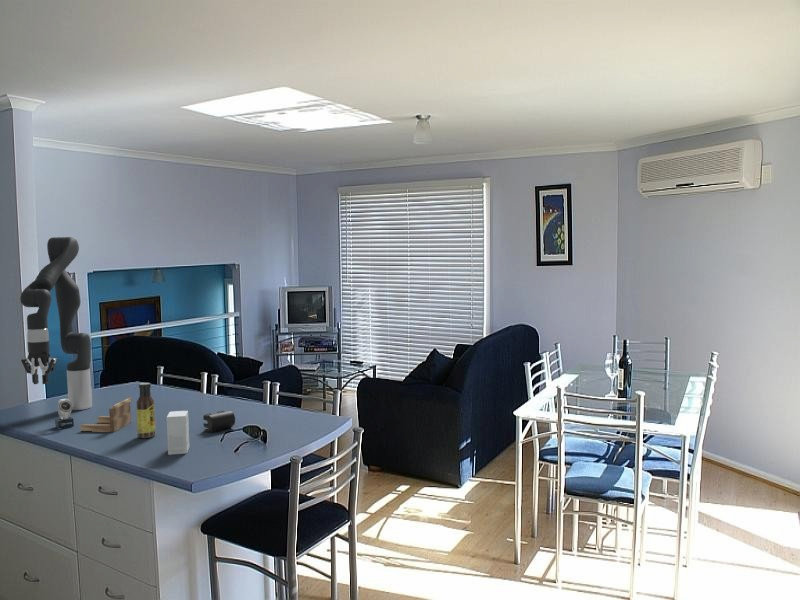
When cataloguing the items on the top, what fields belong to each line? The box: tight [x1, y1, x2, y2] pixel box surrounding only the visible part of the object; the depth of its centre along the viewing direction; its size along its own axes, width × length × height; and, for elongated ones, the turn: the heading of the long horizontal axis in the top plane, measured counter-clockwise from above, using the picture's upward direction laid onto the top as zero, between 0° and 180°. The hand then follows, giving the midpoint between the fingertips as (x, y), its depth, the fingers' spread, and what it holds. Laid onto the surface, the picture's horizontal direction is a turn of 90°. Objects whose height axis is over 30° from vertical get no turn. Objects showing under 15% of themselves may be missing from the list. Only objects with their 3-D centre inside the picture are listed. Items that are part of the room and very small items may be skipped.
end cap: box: [202, 410, 236, 433], centre depth 256 cm, size 10×7×7 cm
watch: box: [54, 398, 75, 429], centre depth 263 cm, size 6×8×11 cm
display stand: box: [80, 397, 133, 433], centre depth 262 cm, size 14×14×10 cm
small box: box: [166, 410, 190, 456], centre depth 230 cm, size 8×6×13 cm
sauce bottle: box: [136, 382, 156, 439], centre depth 247 cm, size 6×6×20 cm
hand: (40, 383), depth 263 cm, fingers open, 3 cm apart
